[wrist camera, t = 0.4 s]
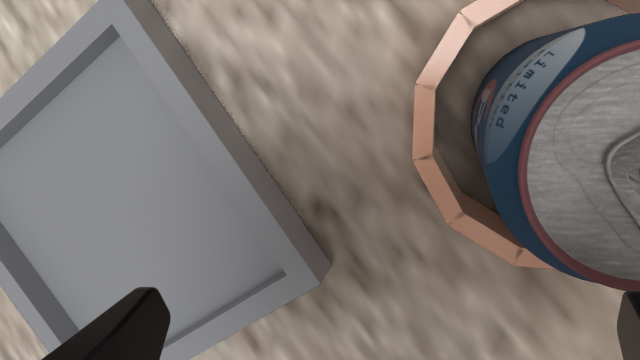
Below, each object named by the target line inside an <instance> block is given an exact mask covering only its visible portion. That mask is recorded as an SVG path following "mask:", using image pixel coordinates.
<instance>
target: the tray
mask: <svg viewBox="0 0 640 360" xmlns="http://www.w3.org/2000/svg"><path fill="white" fill-rule="evenodd" d="M331 265H332V264H331V263H330V261H329V260H328V258H327V257H326V255H325V254H324V252H323V251H322V250H321V248H320V247H319V245H318V244H317V242H316V241H315V239H314V238H313V236H312V235H311V234H310V232H309V231H308V229H307V228H306V226H305V225H304V223H303V222H302V221H301V219H300V218H299V216H298V215H297V213H296V212H295V210H294V209H293V207H292V206H291V205H290V203H289V202H288V200H287V199H286V197H285V196H284V194H283V193H282V192H281V190H280V189H279V187H278V186H277V184H276V183H275V181H274V180H273V178H272V177H271V176H270V174H269V173H268V171H267V170H266V168H265V167H264V165H263V164H262V163H261V161H260V160H259V158H258V157H257V155H256V154H255V152H254V151H253V149H252V148H251V147H250V145H249V144H248V142H247V141H246V139H245V138H244V136H243V135H242V134H241V132H240V131H239V129H238V128H237V126H236V125H235V123H234V122H233V120H232V119H231V118H230V116H229V115H228V113H227V112H226V110H225V109H224V107H223V106H222V105H221V103H220V102H219V100H218V99H217V97H216V96H215V94H214V93H213V91H212V90H211V89H210V87H209V86H208V84H207V83H206V81H205V80H204V78H203V77H202V76H201V74H200V73H199V71H198V70H197V68H196V67H195V65H194V64H193V63H192V61H191V60H190V58H189V57H188V55H187V54H186V52H185V51H184V49H183V48H182V47H181V45H180V44H179V42H178V41H177V39H176V38H175V36H174V35H173V34H172V32H171V31H170V29H169V28H168V26H167V25H166V23H165V22H164V20H163V19H162V18H161V16H160V15H159V13H158V12H157V10H156V9H155V7H154V6H153V5H152V3H151V2H150V0H99V1H98V2H97V3H96V4H95V5H94V6H93V7H92V8H91V9H90V10H89V11H88V12H87V13H86V14H85V15H84V16H83V17H82V18H81V19H80V20H79V21H78V22H77V23H76V24H75V25H74V26H73V27H72V28H71V29H70V30H69V31H68V32H67V33H66V34H65V35H64V36H63V37H62V38H61V39H60V40H59V41H58V42H57V43H56V44H55V45H54V46H53V47H52V48H51V49H50V50H49V51H48V52H47V53H46V54H45V55H44V56H43V57H42V58H41V59H40V60H38V61H37V62H36V63H35V64H34V65H33V66H32V67H31V68H30V69H29V70H28V71H27V72H26V73H25V74H24V75H23V76H22V77H21V78H20V79H19V80H18V81H17V82H16V83H15V84H14V85H13V86H12V87H11V88H10V89H9V90H8V91H7V92H6V93H5V94H4V95H3V96H2V97H1V98H0V286H1V288H2V289H3V290H4V292H5V293H6V295H7V296H8V297H9V299H10V300H11V301H12V303H13V304H14V306H15V307H16V308H17V310H18V311H19V312H20V314H21V315H22V316H23V318H24V319H25V321H26V322H27V323H28V325H29V326H30V327H31V329H32V330H33V331H34V333H35V334H36V336H37V337H38V338H39V340H40V341H41V342H42V344H43V345H44V347H45V348H46V349H47V351H48V352H49V353H51V352H52V351H53V350H55V349H56V348H57V347H59V346H60V345H61V344H63V343H64V342H65V341H67V340H68V339H69V338H71V337H72V336H73V335H74V334H76V333H77V332H78V331H80V330H81V329H82V328H84V327H85V326H86V325H88V324H89V323H90V322H92V321H93V320H94V319H96V318H97V317H98V316H100V315H101V314H102V313H104V312H105V311H106V310H107V309H109V308H110V307H111V306H113V305H114V304H115V303H117V302H118V301H119V300H121V299H122V298H123V297H125V296H126V295H127V294H129V293H130V292H131V291H133V290H134V289H135V288H138V287H155V288H157V289H158V290H159V292H160V294H161V296H162V298H163V300H164V301H165V303H166V305H167V307H168V309H169V311H170V316H171V320H170V325H169V329H168V332H167V336H166V339H165V343H164V346H163V350H162V353H161V357H160V360H189V359H191V358H192V357H194V356H196V355H198V354H199V353H201V352H203V351H205V350H206V349H208V348H210V347H211V346H213V345H215V344H217V343H218V342H220V341H222V340H224V339H225V338H227V337H229V336H231V335H232V334H234V333H236V332H238V331H239V330H241V329H243V328H245V327H246V326H248V325H250V324H252V323H253V322H255V321H257V320H259V319H260V318H262V317H264V316H266V315H267V314H269V313H271V312H273V311H274V310H276V309H278V308H280V307H281V306H283V305H285V304H287V303H288V302H290V301H292V300H293V299H295V298H297V297H299V296H300V295H302V294H304V293H306V292H307V291H309V290H311V289H313V288H314V287H316V286H318V285H320V284H321V282H322V280H323V278H324V277H325V275H326V273H327V272H328V270H329V268H330V266H331Z"/></svg>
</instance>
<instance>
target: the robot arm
mask: <svg viewBox="0 0 640 360" xmlns="http://www.w3.org/2000/svg"><path fill="white" fill-rule="evenodd" d="M170 320H171V316H170V311H169V309H168V307H167V305H166V303H165V301H164V300H163V298H162V296H161V294H160V292H159V290H158V289H157V288H155V287H138V288H135V289H134V290H133V291H131V292H130V293H129V294H127V295H126V296H125V297H123V298H122V299H121V300H119V301H118V302H117V303H115V304H114V305H113V306H111V307H110V308H109V309H107V310H106V311H105V312H104V313H102V314H101V315H100V316H98V317H97V318H96V319H94V320H93V321H92V322H90V323H89V324H88V325H86V326H85V327H84V328H82V329H81V330H80V331H78V332H77V333H76V334H74V335H73V336H72V337H71V338H69V339H68V340H67V341H65V342H64V343H63V344H61V345H60V346H59V347H57V348H56V349H55V350H53V351H52V352H51V353H49V354H48V355H47V356H45V357H44V358H43V359H41V360H160V357H161V353H162V350H163V346H164V343H165V339H166V336H167V332H168V329H169V325H170ZM617 333H618V338H619V342H620V347H621V351H622V355H623V360H640V290H629V291H626V292H625V293H624V294H623V297H622V301H621V306H620V311H619V316H618V320H617Z"/></svg>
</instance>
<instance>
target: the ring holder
mask: <svg viewBox="0 0 640 360" xmlns="http://www.w3.org/2000/svg"><path fill="white" fill-rule="evenodd" d="M523 1H525V0H477V1H475V2H473V3H472V4H470V5H468V6H467V7H465V8H463V9H462V10H460V13H458V14H457V15H456V17H455V18H454V20H453V22H452V23H451V25H450V27H449V28H448V30H447V32H446V33H445V35H444V37H443V38H442V40H441V41H440V43H439V45H438V46H437V48H436V50H435V51H434V53H433V55H432V56H431V58H430V59H429V61H428V63H427V64H426V66H425V68H424V69H423V71H422V73H421V74H420V76H419V78H418V79H417V81H416V82H415V83H417V84H416V85H415V90H414V120H413V150H412V159H414V160H413V163H414V165H415V167H416V168H417V170H418V172H419V174H420V176H421V178H422V179H423V181H424V183H425V185H426V187H427V188H428V190H429V192H430V194H431V196H432V198H433V199H434V201H435V203H436V205H437V207H438V208H439V210H440V212H441V214H442V216H443V217H444V219H445V221H446V223H447V224H449V226H450V227H451V228H453V229H454V230H456V231H458V232H459V233H461V234H463V235H464V236H466V237H467V238H469V239H471V240H472V241H474V242H476V243H477V244H479V245H480V246H482V247H484V248H485V249H487V250H489V251H490V252H492V253H493V254H495V255H497V256H498V257H500V258H502V259H503V260H505V261H506V262H508V263H510V264H511V265H513V264H515V266H520V267H532V268H544V269H555V268H553V267H551V266H550V265H548V264H546V263H545V262H543V261H542V260H540V259H539V258H537V257H536V256H535V255H533V254H532V253H531V252H530V251H528V250H527V249H526V248H525V247H524V246H523V245H522V244H521V243H520V242H519V241H518V240H517V239H516V238H515V237H514V235H513V234H512V233H511V231H510V230H509V229H508V228H507V226H506V224H505V223H504V221H503V220H502V218H501V216H500V215H498V214H496V213H495V212H493V211H492V210H490V209H488V208H487V207H485V206H483V205H482V204H480V203H478V202H477V201H475V200H473V199H472V198H470V197H468V196H467V195H465V194H464V193H462V192H461V191H460V189H459V187H458V185H457V184H456V182H455V180H454V178H453V176H452V174H451V173H450V171H449V169H448V167H447V165H446V163H445V162H444V160H443V158H442V156H441V154H440V152H439V151H438V149H437V147H436V145H435V143H434V141H435V118H436V95H437V85H438V84H439V82H440V81H441V79H442V77H443V76H444V74H445V73H446V71H447V70H448V68H449V66H450V65H451V63H452V62H453V60H454V58H455V57H456V55H457V54H458V52H459V50H460V49H461V47H462V46H463V44H464V42H465V41H466V39H467V38H468V36H469V34H470V33H471V32H472V31H474V30H475V29H477V28H479V27H480V26H482V25H484V24H486V23H487V22H489V21H491V20H492V19H494V18H496V17H498V16H499V15H501V14H503V13H505V12H506V11H508V10H510V9H511V8H513V7H515V6H517V5H518V4H520V3H522V2H523ZM607 1H608V2H610V3H612V4H614V5H616V6H617V7H619V8H621V9H623V10H625V11H627V12H628V13H630V14H635V13H640V0H607ZM556 270H557V269H556Z"/></svg>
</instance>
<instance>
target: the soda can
mask: <svg viewBox="0 0 640 360" xmlns="http://www.w3.org/2000/svg"><path fill="white" fill-rule="evenodd" d="M471 131H472V138H473V142H474V145H475V148H476V151H477V154H478V157H479V160H480V163H481V166H482V169H483V172H484V174H485V177H486V180H487V183H488V186H489V189H490V192H491V195H492V198H493V201H494V203H495V206H496V208H497V210H498V212H499V214H500V216H501V218H502V220H503V221H504V223H505V224H506V226H507V228H508V229H509V230H510V231H511V233H512V234H513V235H514V237H515V238H516V239H517V240H518V241H519V242H520V243H521V244H522V245H523V246H524V247H525V248H526V249H527V250H528V251H530V252H531V253H532V254H533V255H535V256H536V257H537V258H539V259H540V260H542V261H543V262H545V263H546V264H548V265H550V266H551V267H553V268H555V269H557V270H559V271H561V272H563V273H566V274H568V275H571V276H573V277H576V278H579V279H582V280H586V281H590V282H594V283H599V284H602V285H605V286H608V287H611V288H615V289H619V290H624V291H629V290H640V13H635V14H628V15H622V16H617V17H613V18H609V19H605V20H602V21H598V22H594V23H591V24H587V25H583V26H580V27H576V28H572V29H569V30H565V31H561V32H558V33H554V34H550V35H547V36H543V37H540V38H536V39H534V40H531V41H529V42H526V43H524V44H522V45H520V46H518V47H517V48H515V49H514V50H512V51H510V52H509V53H508V54H506V55H505V56H504V57H503V58H502V59H500V60H499V61H498V62H497V63H496V64H495V65H494V67H493V68H492V69H491V70H490V71H489V73H488V74H487V75H486V77H485V78H484V80H483V82H482V83H481V85H480V87H479V89H478V92H477V94H476V97H475V100H474V103H473V108H472V115H471Z"/></svg>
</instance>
